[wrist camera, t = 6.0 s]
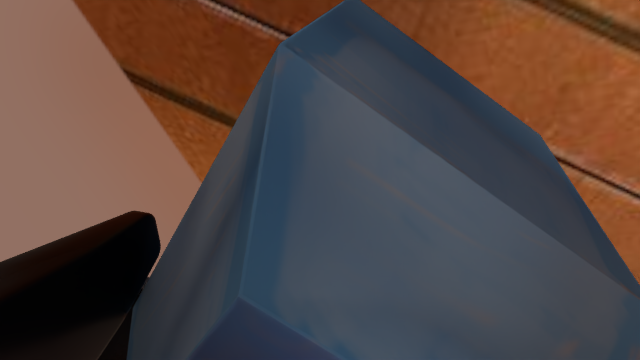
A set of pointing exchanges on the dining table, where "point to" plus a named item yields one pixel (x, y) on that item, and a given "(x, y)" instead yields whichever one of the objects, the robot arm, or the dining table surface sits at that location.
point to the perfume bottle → (383, 223)
